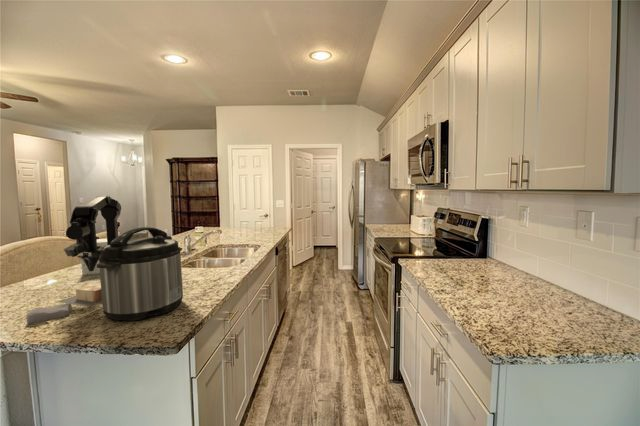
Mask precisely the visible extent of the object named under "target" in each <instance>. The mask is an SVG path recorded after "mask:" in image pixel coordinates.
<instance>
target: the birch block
mask: <svg viewBox="0 0 640 426" xmlns="http://www.w3.org/2000/svg"><path fill="white" fill-rule="evenodd" d="M75 296H76V298H77V300H84V301H91V302H98V301H100V300H102V293H101V285H98V284H87V285H84V286H80V287H78V288H75Z"/></svg>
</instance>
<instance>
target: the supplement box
mask: <svg viewBox="0 0 640 426" xmlns="http://www.w3.org/2000/svg"><path fill="white" fill-rule="evenodd" d="M97 246H100V249H101V248H102V247H104V246H107V238H99V239H97ZM91 252H92V251H91ZM80 263H81V272H82V274H81V275H82V276H87V274H88V275H97V274H99V275H100V268H97V264H98V263H99V260H98V262H97V264H96V266H95V268H94V270H93V271H89V270H88V268H87V266H86V264H85V262H84V261H83V260H82V259H81V258H80Z"/></svg>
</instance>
